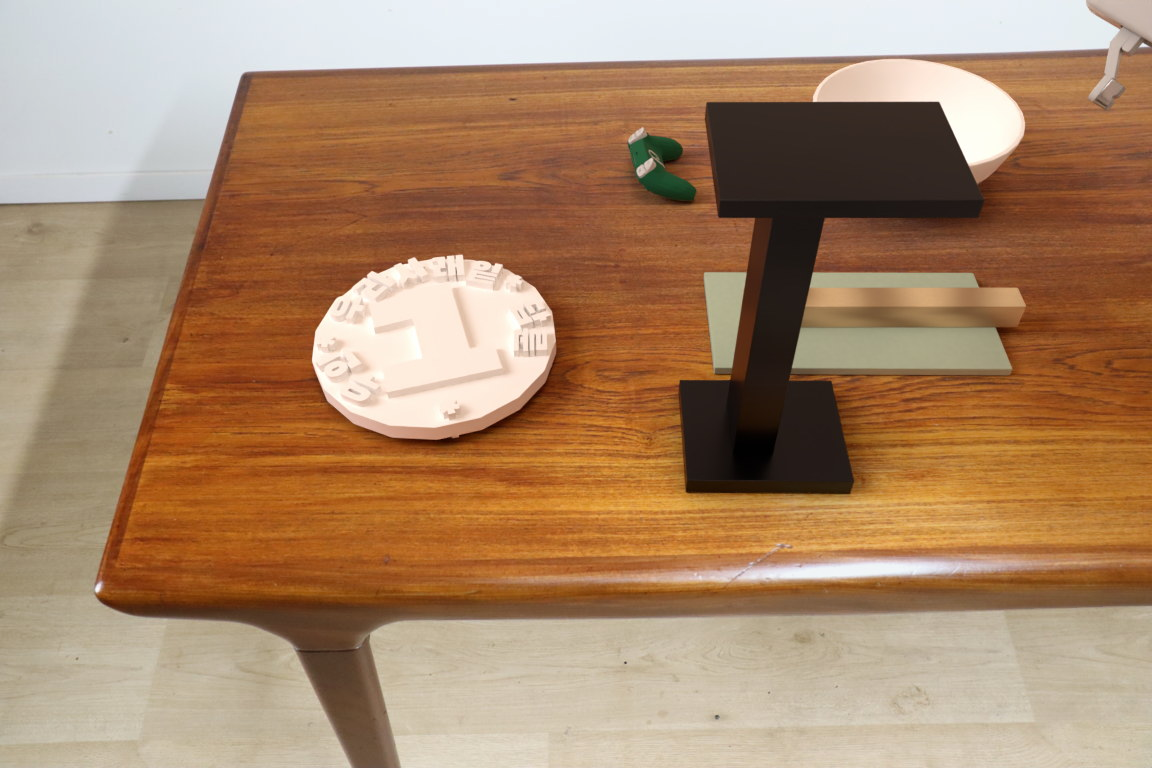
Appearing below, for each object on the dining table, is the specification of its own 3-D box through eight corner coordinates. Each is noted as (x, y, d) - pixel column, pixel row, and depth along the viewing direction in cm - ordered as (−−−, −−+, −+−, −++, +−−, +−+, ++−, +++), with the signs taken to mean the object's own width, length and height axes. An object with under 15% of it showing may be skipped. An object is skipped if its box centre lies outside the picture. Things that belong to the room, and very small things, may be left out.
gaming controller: (657, 168, 101) (618, 137, 97) (684, 144, 99) (645, 111, 96) (673, 221, 95) (632, 189, 91) (702, 196, 93) (660, 163, 89)
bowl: (832, 113, 105) (847, 42, 98) (1015, 158, 98) (1042, 85, 92) (771, 208, 93) (784, 134, 87) (974, 266, 86) (1002, 190, 80)
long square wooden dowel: (1008, 308, 81) (1030, 259, 77) (1017, 327, 80) (1039, 278, 76) (740, 308, 82) (747, 259, 78) (743, 327, 80) (750, 278, 76)
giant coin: (288, 439, 73) (279, 414, 71) (348, 274, 87) (342, 249, 85) (545, 451, 72) (544, 426, 70) (565, 282, 86) (565, 257, 84)
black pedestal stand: (853, 393, 76) (939, 101, 57) (877, 494, 69) (985, 200, 50) (678, 392, 76) (706, 101, 57) (685, 492, 69) (720, 200, 50)
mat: (970, 279, 85) (973, 272, 85) (1009, 375, 77) (1013, 369, 76) (703, 278, 86) (704, 271, 85) (713, 374, 78) (714, 367, 77)
